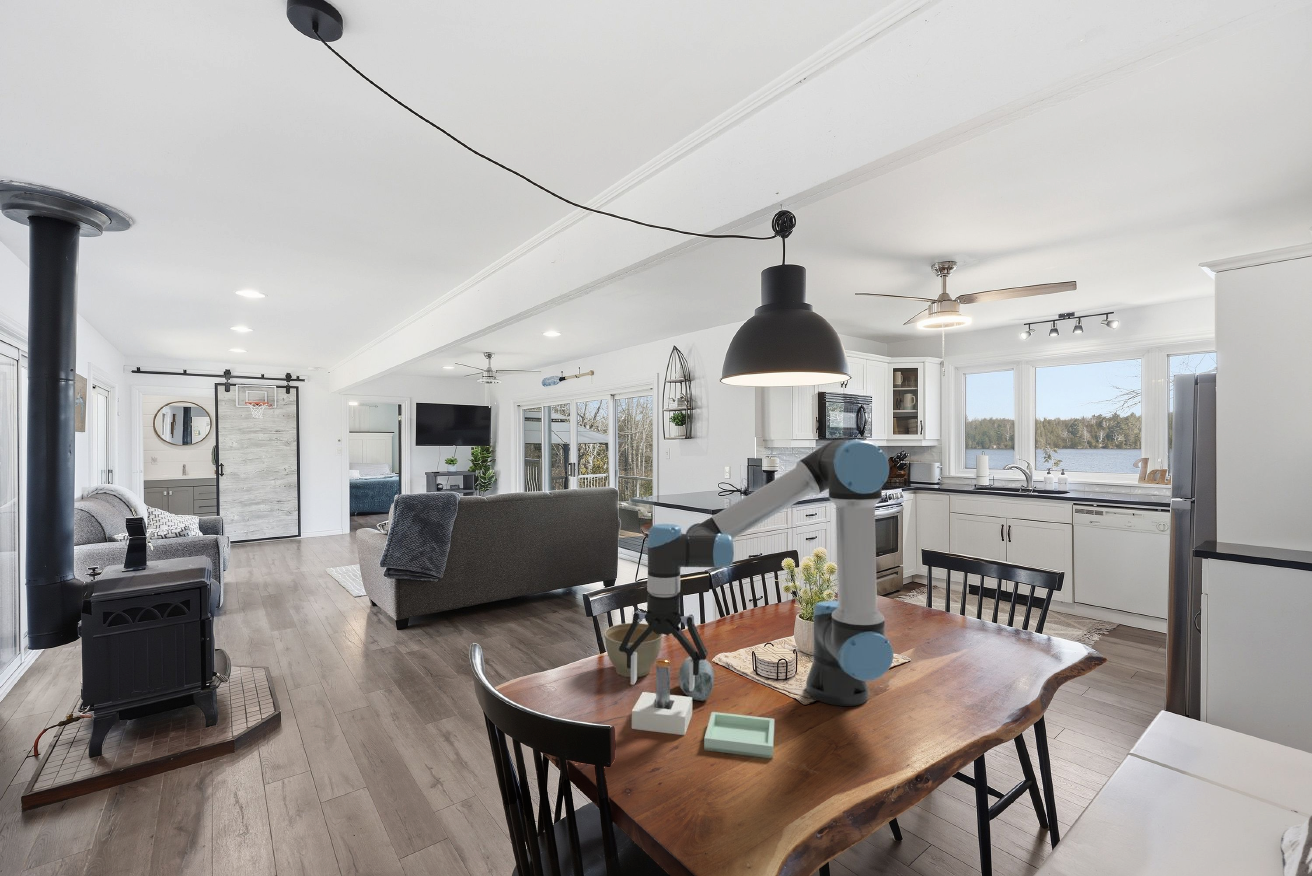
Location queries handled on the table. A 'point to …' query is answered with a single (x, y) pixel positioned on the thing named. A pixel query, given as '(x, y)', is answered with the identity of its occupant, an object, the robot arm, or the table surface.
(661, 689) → the pin
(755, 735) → the tray
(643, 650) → the planter bowl
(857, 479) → the robot arm
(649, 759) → the table surface
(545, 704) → the table surface
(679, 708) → the socket block
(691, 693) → the blue-grey stone
